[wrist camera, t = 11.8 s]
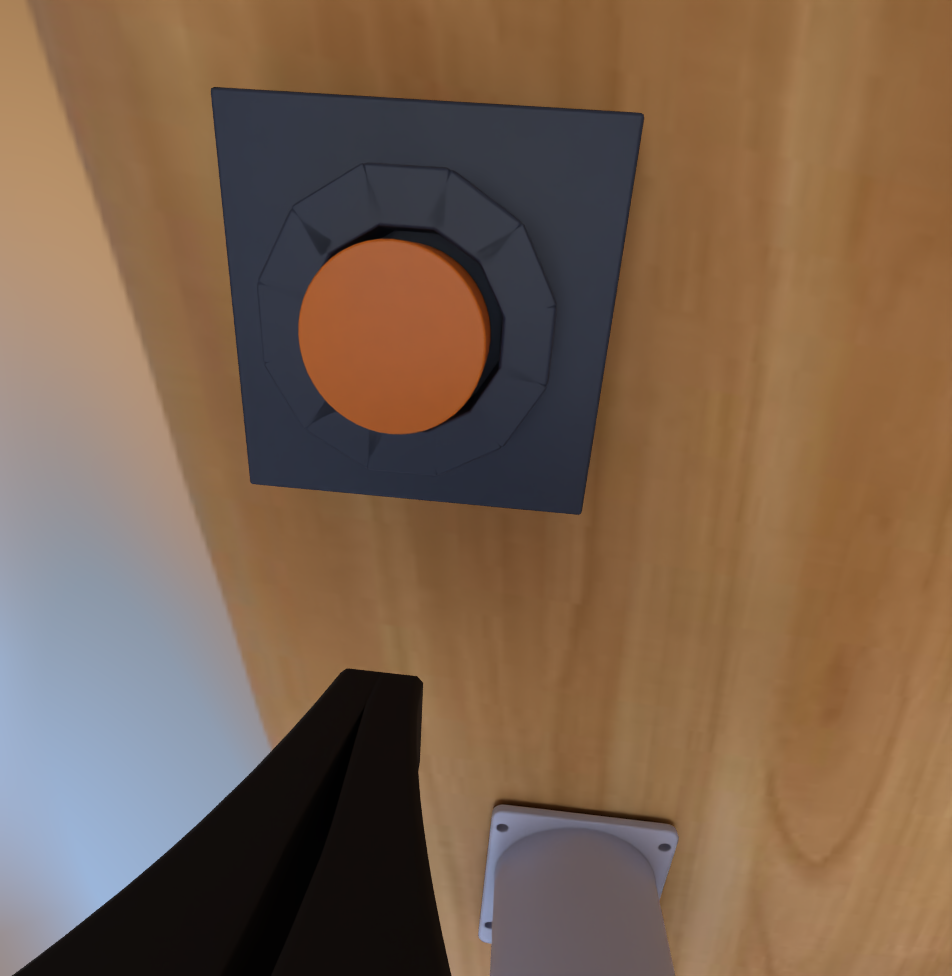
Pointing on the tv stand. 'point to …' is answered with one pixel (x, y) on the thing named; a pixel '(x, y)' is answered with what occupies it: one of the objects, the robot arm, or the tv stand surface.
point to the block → (458, 233)
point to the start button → (394, 335)
